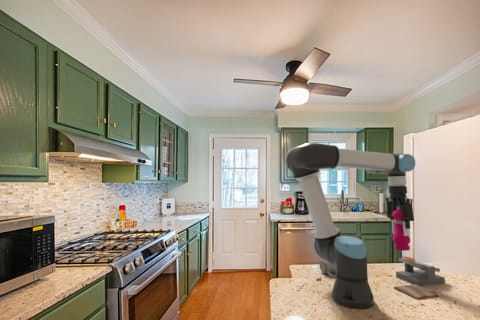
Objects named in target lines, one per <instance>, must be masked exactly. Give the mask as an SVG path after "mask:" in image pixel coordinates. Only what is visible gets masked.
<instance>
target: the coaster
mask: <svg viewBox="0 0 480 320" xmlns="http://www.w3.org/2000/svg"><path fill="white" fill-rule="evenodd" d="M393 289H394V290H396V291H398V292H400V293H402V294H405V295H406V296H408V297H410V298H411V299H412V298H413V299H415V300H421V299H422V300H424V299H428V298H431V299H432V298H438V297H440V294H439V293H436V292H434V291H431V290H429V289H427V288H425V287H423V286H418V285H415V284H414V285H413V284H407V285H399V286H398V285H397V286H393Z"/></svg>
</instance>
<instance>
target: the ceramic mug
mask: <svg viewBox="0 0 480 320" xmlns="http://www.w3.org/2000/svg"><path fill="white" fill-rule="evenodd" d="M319 269H320V271H321V273H322V274H325V275H328V276H330V277H331V278H333V279H334V278H335V279H336V267H335V265H333V264H331V263H329V262H328V261H325V260H323V259H322V258H321V260H319Z"/></svg>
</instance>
